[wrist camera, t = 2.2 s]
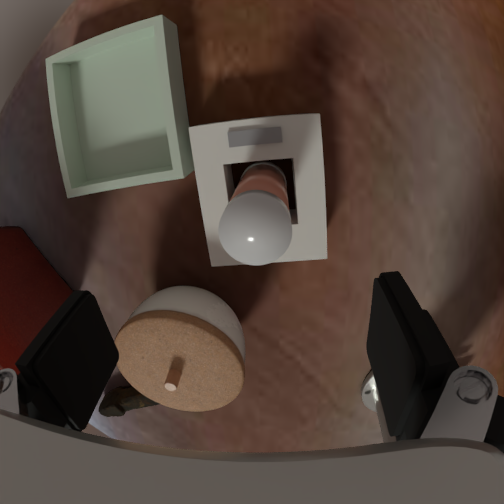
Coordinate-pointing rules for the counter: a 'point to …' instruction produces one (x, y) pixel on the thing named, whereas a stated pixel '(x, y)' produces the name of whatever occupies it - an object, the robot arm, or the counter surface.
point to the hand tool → (123, 401)
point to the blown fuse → (257, 216)
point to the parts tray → (120, 109)
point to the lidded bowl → (183, 349)
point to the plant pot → (24, 294)
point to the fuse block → (257, 149)
